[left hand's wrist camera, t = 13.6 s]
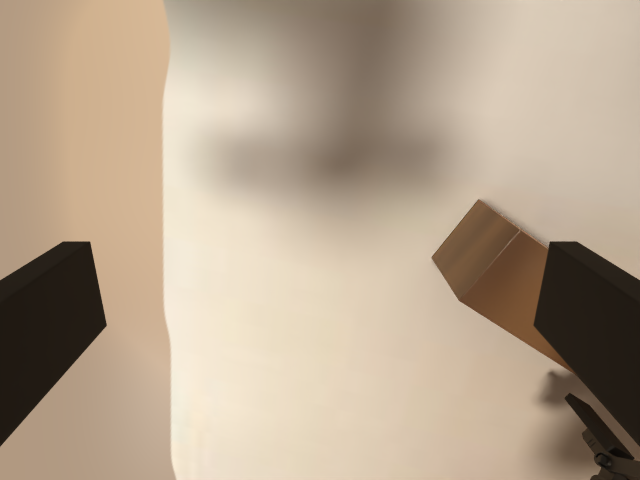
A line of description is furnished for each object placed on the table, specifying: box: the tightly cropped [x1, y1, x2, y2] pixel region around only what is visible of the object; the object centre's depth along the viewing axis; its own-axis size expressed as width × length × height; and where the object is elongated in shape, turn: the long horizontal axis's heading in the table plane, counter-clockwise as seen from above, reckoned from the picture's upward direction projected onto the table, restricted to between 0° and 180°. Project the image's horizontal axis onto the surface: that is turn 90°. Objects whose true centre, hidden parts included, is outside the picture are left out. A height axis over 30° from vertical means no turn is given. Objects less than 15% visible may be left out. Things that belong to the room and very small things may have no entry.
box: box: [432, 200, 576, 375], centre depth 39 cm, size 24×7×9 cm, turn 57°
